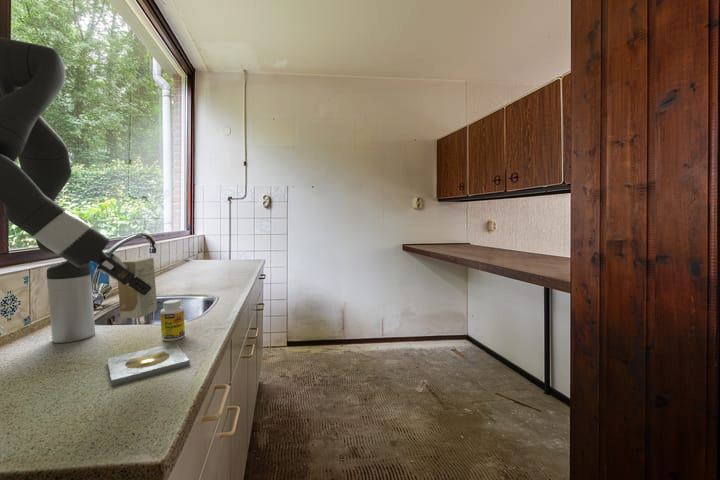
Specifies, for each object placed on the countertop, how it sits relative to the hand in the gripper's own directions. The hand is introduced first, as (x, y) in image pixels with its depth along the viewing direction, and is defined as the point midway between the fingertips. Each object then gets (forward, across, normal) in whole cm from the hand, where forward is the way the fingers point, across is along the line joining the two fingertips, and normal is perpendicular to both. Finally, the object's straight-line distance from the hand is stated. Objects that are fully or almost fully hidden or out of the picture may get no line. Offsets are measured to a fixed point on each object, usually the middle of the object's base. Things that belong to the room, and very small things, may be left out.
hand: (145, 288), depth 75 cm
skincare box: (+3, 0, +5) cm, 6 cm away
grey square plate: (+12, 0, +12) cm, 17 cm away
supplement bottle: (+18, +15, +7) cm, 24 cm away
